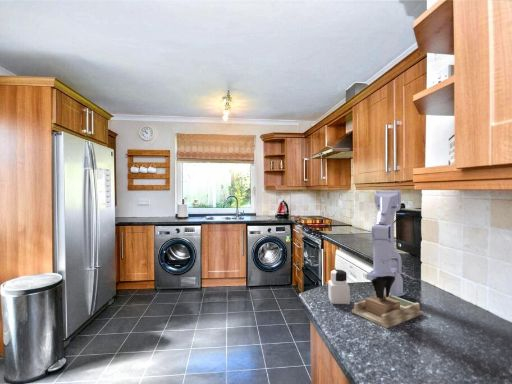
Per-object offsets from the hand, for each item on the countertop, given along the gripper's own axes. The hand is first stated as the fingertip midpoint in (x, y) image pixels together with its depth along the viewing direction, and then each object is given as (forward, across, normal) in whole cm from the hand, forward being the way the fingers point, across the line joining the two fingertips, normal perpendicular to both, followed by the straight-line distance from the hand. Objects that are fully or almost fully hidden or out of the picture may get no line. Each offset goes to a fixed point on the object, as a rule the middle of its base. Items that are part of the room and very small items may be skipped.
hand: (382, 297), depth 98 cm
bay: (+6, +2, 0) cm, 7 cm away
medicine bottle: (+6, -4, +17) cm, 19 cm away
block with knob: (+5, 0, 0) cm, 5 cm away
